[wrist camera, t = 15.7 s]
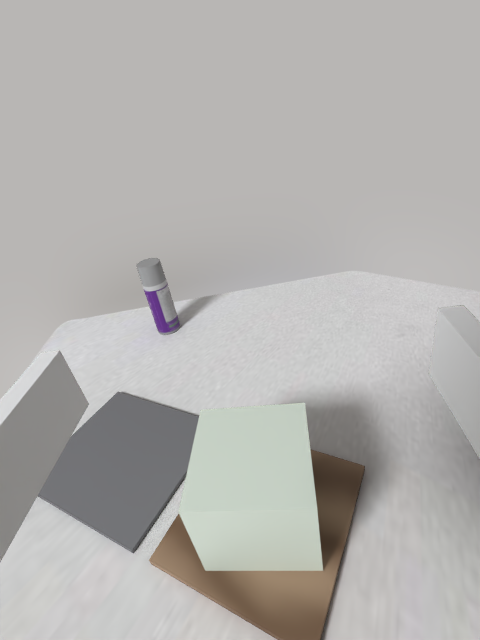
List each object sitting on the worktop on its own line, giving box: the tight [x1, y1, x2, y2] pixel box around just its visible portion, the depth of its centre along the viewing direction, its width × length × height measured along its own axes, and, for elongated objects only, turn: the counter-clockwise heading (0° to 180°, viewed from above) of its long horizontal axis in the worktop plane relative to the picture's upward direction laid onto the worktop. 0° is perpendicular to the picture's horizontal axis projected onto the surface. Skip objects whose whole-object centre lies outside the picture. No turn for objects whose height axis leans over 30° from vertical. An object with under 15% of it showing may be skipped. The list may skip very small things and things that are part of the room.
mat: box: [38, 392, 199, 553], centre depth 48 cm, size 18×20×1 cm
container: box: [137, 258, 180, 335], centre depth 71 cm, size 5×5×15 cm
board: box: [149, 449, 365, 640], centre depth 38 cm, size 18×17×1 cm
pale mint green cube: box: [178, 403, 323, 571], centre depth 35 cm, size 11×11×10 cm
